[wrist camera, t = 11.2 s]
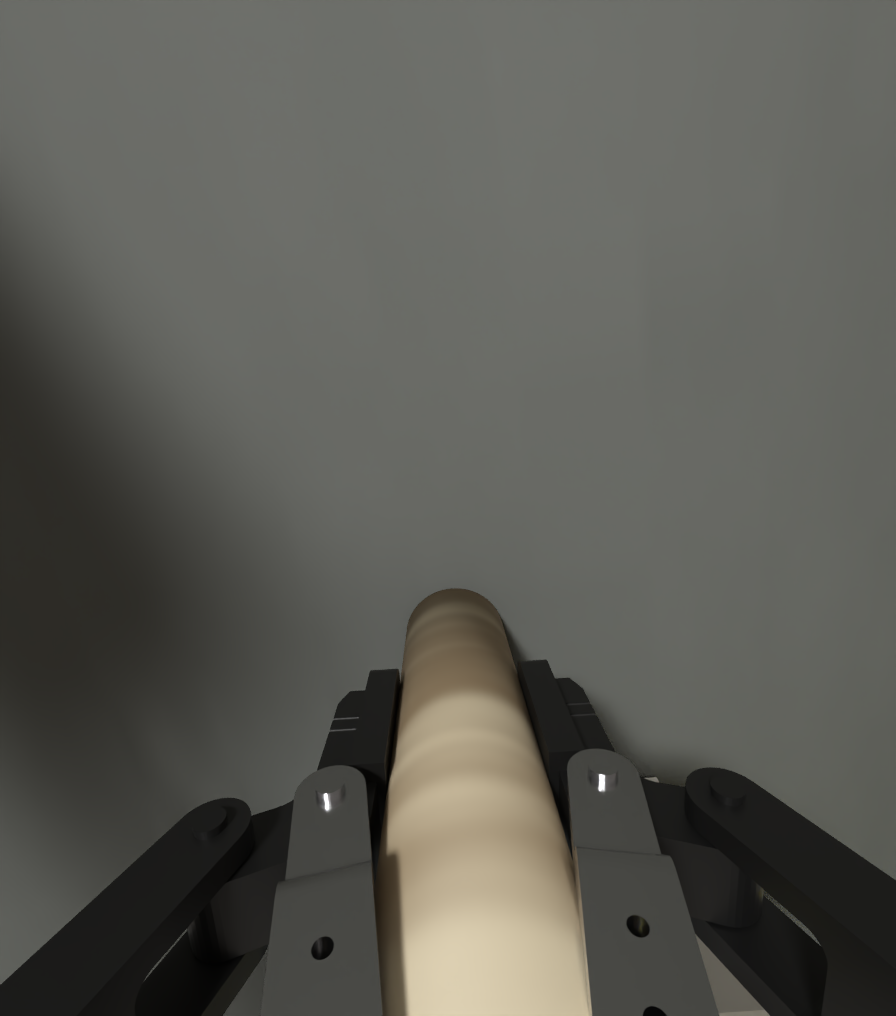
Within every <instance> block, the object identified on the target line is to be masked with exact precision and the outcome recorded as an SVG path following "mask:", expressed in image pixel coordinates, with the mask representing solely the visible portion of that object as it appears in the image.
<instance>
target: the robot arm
mask: <svg viewBox="0 0 896 1016" xmlns="http://www.w3.org/2000/svg"><path fill="white" fill-rule="evenodd" d="M518 678H519V682H520V685H521V689H522V692H523V695H524V699H525V702H526V705H527V709H528V712H529V716H530V719H531V722H532V726H533V729H534V733H535V736H536V739H537V743H538V746H539V749H540V753H541V756H542V760H543V763H544V766H545V770H546V773H547V777H548V780H549V783H550V786H551V789H552V793H553V796H554V800H555V803H556V806H557V810H558V813H559V816H560V820H561V823H562V827H563V830H564V833H565V837H566V840H567V843H568V847H569V850H570V854H571V857H572V860H573V868H574V880H575V888H576V897H577V906H578V915H579V925H580V934H581V938H582V947H583V957H584V969H585V980H586V991H587V1003H588V1014H589V1016H719V1012H718V1009H717V1006H716V1002H715V999H714V996H713V992H712V989H711V985H710V982H709V979H708V975H707V972H706V969H705V965H704V962H703V959H702V955H701V952H700V949H699V945H698V942H697V938H696V935H697V936H698V938H699V939H700V940H701V941H702V942H703V943H704V944H705V945H706V946H707V947H708V948H709V950H710V951H711V952H712V953H713V954H714V955H715V956H716V957H717V958H718V959H719V960H720V962H721V963H722V964H723V965H724V966H725V967H726V968H727V969H728V970H729V971H730V972H731V974H732V975H733V976H734V977H735V978H736V979H737V980H738V981H739V982H740V983H741V984H742V986H743V987H744V988H745V989H746V990H747V991H748V992H749V993H750V994H751V995H752V996H753V998H754V999H755V1000H756V1001H757V1002H758V1003H759V1004H760V1005H761V1006H762V1007H763V1008H764V1010H765V1011H766V1012H767V1013H768V1014H769V1015H770V1016H896V880H894V879H893V878H891V877H890V876H889V875H887V874H886V873H884V872H883V871H881V870H880V869H878V868H877V867H876V866H874V865H873V864H871V863H870V862H868V861H867V860H865V859H864V858H863V857H861V856H860V855H858V854H857V853H855V852H854V851H852V850H851V849H849V848H848V847H847V846H845V845H844V844H842V843H841V842H839V841H838V840H836V839H835V838H834V837H832V836H831V835H829V834H828V833H826V832H825V831H823V830H822V829H821V828H819V827H818V826H816V825H815V824H813V823H812V822H810V821H809V820H807V819H806V818H805V817H803V816H802V815H800V814H799V813H797V812H796V811H794V810H793V809H792V808H790V807H789V806H787V805H786V804H784V803H783V802H781V801H780V800H779V799H777V798H776V797H774V796H773V795H771V794H770V793H768V792H767V791H766V790H764V789H763V788H761V787H760V786H758V785H757V784H755V783H754V782H752V781H751V780H749V779H748V778H746V777H744V776H742V775H740V774H738V773H735V772H733V771H729V770H726V769H721V768H702V769H698V770H695V771H694V772H692V773H691V774H690V775H689V776H688V777H687V779H686V786H685V787H680V786H674V785H669V784H663V783H658V782H654V781H651V780H648V779H645V778H643V777H641V776H640V775H639V773H638V770H637V769H636V767H635V766H634V765H633V764H632V762H630V761H629V760H628V759H627V758H625V757H624V756H622V755H620V754H618V753H615V751H614V749H613V747H612V745H611V743H610V741H609V739H608V737H607V735H606V733H605V731H604V729H603V727H602V725H601V723H600V721H599V719H598V718H597V716H596V715H595V712H594V710H593V708H592V706H591V704H590V702H589V700H588V698H587V696H586V694H585V692H584V690H583V688H581V687H580V686H579V685H578V684H576V683H575V682H574V681H573V680H571V679H570V678H558V679H555V678H554V675H553V673H552V671H551V668H550V666H549V664H548V661H547V660H533V661H519V662H518ZM399 691H400V676H399V670H398V669H387V670H371V671H370V673H369V677H368V681H367V686H366V690H365V691H350V692H349V693H348V694H347V695H346V696H345V697H344V698H343V699H342V700H341V702H340V703H339V704H338V706H337V709H336V712H335V716H334V721H333V722H332V725H331V728H330V732H329V734H328V738H327V741H326V744H325V747H324V750H323V753H322V756H321V760H320V763H319V766H318V769H317V771H316V772H314V773H312V774H311V775H309V776H308V777H307V778H305V779H304V780H303V781H302V782H301V784H300V785H299V786H298V788H297V790H296V792H295V796H294V800H293V801H291V802H289V803H287V804H285V805H283V806H280V807H277V808H275V809H271V810H268V811H265V812H262V813H259V814H256V815H253V816H251V811H250V808H249V806H248V805H247V804H246V803H245V802H244V801H242V800H239V799H235V798H221V799H217V800H213V801H210V802H207V803H205V804H202V805H200V806H199V807H197V808H195V809H193V810H192V811H191V812H189V813H188V814H187V815H185V816H184V817H183V818H182V819H181V820H180V821H179V822H177V823H176V824H175V825H174V826H173V827H172V828H171V829H170V830H169V831H168V832H167V833H166V834H164V835H163V836H162V837H161V838H160V839H159V840H158V841H157V842H156V843H155V844H154V845H152V846H151V847H150V848H149V849H148V850H147V851H146V852H145V853H144V854H143V855H142V856H140V857H139V858H138V859H137V860H136V861H135V862H134V863H133V864H132V865H131V866H130V867H128V868H127V869H126V870H125V871H124V872H123V873H122V874H121V875H120V876H119V877H118V878H116V879H115V880H114V881H113V882H112V883H111V884H110V885H109V886H108V887H107V888H106V889H104V890H103V891H102V892H101V893H100V894H99V895H98V896H97V897H96V898H95V899H94V900H93V901H91V902H90V903H89V904H88V905H87V906H86V907H85V908H84V909H83V910H82V911H81V912H79V913H78V914H77V915H76V916H75V917H74V918H73V919H72V920H71V921H70V922H69V923H67V924H66V925H65V926H64V927H63V928H62V929H61V930H60V931H59V932H58V933H57V934H55V935H54V936H53V937H52V938H51V939H50V940H49V941H48V942H47V943H46V944H45V945H43V946H42V947H41V948H40V949H39V950H38V951H37V952H36V953H35V954H34V955H33V956H31V957H30V958H29V959H28V960H27V961H26V962H25V963H24V964H23V965H22V966H21V967H20V968H18V969H17V970H16V971H15V972H14V973H13V974H12V975H11V976H10V977H9V978H8V979H6V980H5V981H4V982H3V983H2V984H1V985H0V1016H223V1014H224V1013H225V1011H226V1010H227V1008H228V1007H229V1005H230V1004H231V1002H232V1001H233V999H234V998H235V996H236V995H237V994H238V992H239V991H240V989H241V988H242V986H243V985H244V983H245V982H246V980H247V979H248V977H249V976H250V975H251V973H252V972H253V970H254V969H255V967H256V966H257V964H258V963H259V961H260V960H261V958H262V957H263V955H264V953H265V951H266V949H267V947H268V944H269V948H268V956H267V964H266V972H265V980H264V988H263V996H262V1003H261V1011H260V1016H384V1014H383V1001H382V988H381V975H380V962H379V942H378V927H377V912H376V898H375V881H376V873H377V865H378V857H379V849H380V841H381V833H382V825H383V817H384V809H385V801H386V794H387V788H388V780H389V772H390V764H391V756H392V747H393V739H394V731H395V723H396V715H397V707H398V699H399ZM764 890H765V891H766V892H767V893H769V894H770V895H771V896H772V897H773V898H774V899H775V900H777V901H778V902H779V903H780V904H781V905H782V906H783V907H785V908H786V909H787V910H788V911H789V912H790V913H791V914H793V915H794V916H795V917H796V918H797V919H798V920H799V921H801V922H802V923H803V924H804V925H805V926H806V927H807V928H808V929H809V930H810V931H811V932H812V933H813V935H814V936H815V937H816V938H817V940H818V941H819V943H820V945H821V946H822V947H821V946H820V945H819V944H818V943H817V942H815V941H814V940H813V939H812V938H811V937H810V936H809V935H807V934H806V933H805V932H804V931H803V930H802V929H801V928H800V927H798V926H797V925H796V924H795V923H794V922H793V921H792V920H791V919H789V918H788V917H787V916H786V915H785V914H784V913H783V912H782V911H780V910H779V909H778V908H777V907H776V906H775V905H774V904H772V903H771V902H770V901H769V900H768V899H767V898H766V897H765V896H763V893H764ZM186 928H187V932H186V933H185V934H184V935H183V936H182V938H181V939H180V940H179V941H178V942H177V943H176V945H175V946H174V947H173V948H172V949H171V950H170V952H169V953H168V954H167V955H166V956H165V957H164V959H163V960H162V961H161V962H160V963H159V964H158V966H157V967H156V968H155V969H154V970H153V971H152V973H151V974H150V975H149V976H148V977H147V978H146V976H147V975H148V973H149V972H150V971H151V969H152V968H153V967H154V966H155V964H156V963H157V962H158V961H159V960H160V959H161V957H162V956H163V955H164V954H165V953H166V952H167V951H168V949H169V948H170V947H171V946H172V945H173V944H174V942H175V941H176V940H177V939H178V938H179V937H180V935H181V934H182V933H183V932H184V931H185V930H186ZM695 934H696V935H695ZM145 978H146V980H145ZM144 980H145V981H144ZM143 981H144V982H143Z"/></svg>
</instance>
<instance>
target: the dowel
mask: <svg viewBox="0 0 896 1016" xmlns="http://www.w3.org/2000/svg"><path fill="white" fill-rule="evenodd" d="M375 898H376V912H377V927H378V942H379V962H380V975H381V988H382V1001H383V1014H384V1016H589V1014H588V1003H587V991H586V980H585V969H584V957H583V947H582V938H581V934H580V925H579V915H578V906H577V897H576V888H575V880H574V868H573V860H572V857H571V854H570V850H569V847H568V843H567V840H566V837H565V833H564V830H563V827H562V823H561V820H560V816H559V813H558V810H557V806H556V803H555V800H554V796H553V793H552V789H551V786H550V783H549V780H548V777H547V773H546V770H545V766H544V763H543V760H542V756H541V753H540V749H539V746H538V743H537V739H536V736H535V733H534V729H533V726H532V722H531V719H530V716H529V712H528V709H527V705H526V702H525V699H524V695H523V692H522V689H521V685H520V682H519V678H518V675H517V671H516V668H515V665H514V661H513V658H512V654H511V651H510V648H509V644H508V641H507V638H506V634H505V631H504V627H503V624H502V621H501V618H500V615H499V613H498V612H497V610H496V608H495V607H494V606H493V605H492V604H491V603H490V602H489V601H488V600H487V599H486V598H484V597H483V596H481V595H480V594H478V593H475V592H473V591H470V590H466V589H446V590H442V591H438V592H436V593H433V594H432V595H430V596H428V597H427V598H425V599H424V600H423V601H422V602H420V603H419V604H418V606H417V607H416V608H415V609H414V611H413V613H412V614H411V617H410V619H409V622H408V625H407V633H406V641H405V649H404V657H403V665H402V673H401V681H400V691H399V699H398V707H397V715H396V723H395V731H394V739H393V747H392V756H391V764H390V772H389V780H388V788H387V794H386V801H385V809H384V817H383V825H382V833H381V841H380V849H379V857H378V865H377V873H376V881H375Z"/></svg>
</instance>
